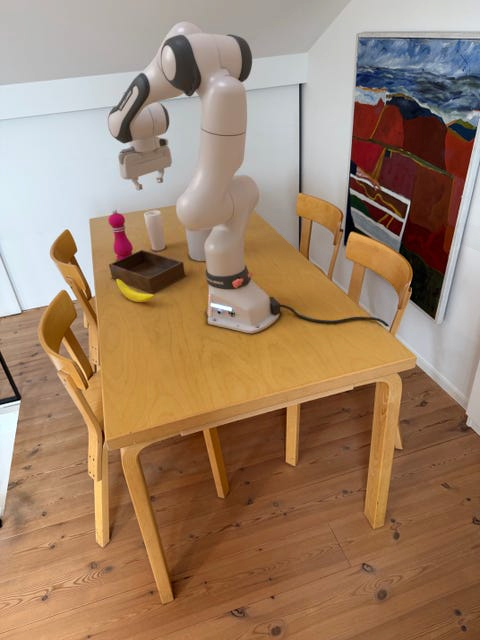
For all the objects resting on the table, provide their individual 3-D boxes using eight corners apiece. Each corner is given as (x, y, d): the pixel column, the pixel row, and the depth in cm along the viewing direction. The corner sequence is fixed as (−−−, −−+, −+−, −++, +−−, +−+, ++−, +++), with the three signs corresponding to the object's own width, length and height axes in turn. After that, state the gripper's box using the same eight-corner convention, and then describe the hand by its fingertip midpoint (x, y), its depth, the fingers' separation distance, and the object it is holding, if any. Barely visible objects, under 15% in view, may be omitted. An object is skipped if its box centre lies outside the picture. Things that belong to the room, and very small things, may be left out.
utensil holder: (229, 246, 183) (225, 203, 173) (223, 261, 170) (219, 216, 161) (193, 247, 185) (187, 205, 176) (185, 262, 172) (178, 218, 163)
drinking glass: (163, 252, 183) (157, 215, 175) (148, 252, 184) (140, 216, 176) (169, 245, 188) (163, 210, 181) (154, 245, 190) (147, 210, 182)
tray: (185, 276, 162) (183, 261, 159) (152, 293, 153) (149, 279, 150) (144, 262, 175) (142, 249, 172) (112, 278, 166) (108, 264, 163)
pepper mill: (125, 264, 176) (114, 213, 165) (112, 261, 179) (100, 211, 169) (138, 257, 181) (128, 207, 170) (125, 254, 184) (114, 205, 174)
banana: (152, 311, 143) (148, 293, 139) (116, 295, 154) (111, 278, 150) (159, 307, 144) (156, 289, 141) (123, 292, 155) (119, 275, 152)
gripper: (123, 151, 142) (132, 195, 149) (171, 138, 155) (177, 179, 162) (111, 150, 145) (120, 193, 153) (159, 137, 158) (165, 177, 166)
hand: (150, 186), depth 158 cm, fingers open, 8 cm apart
